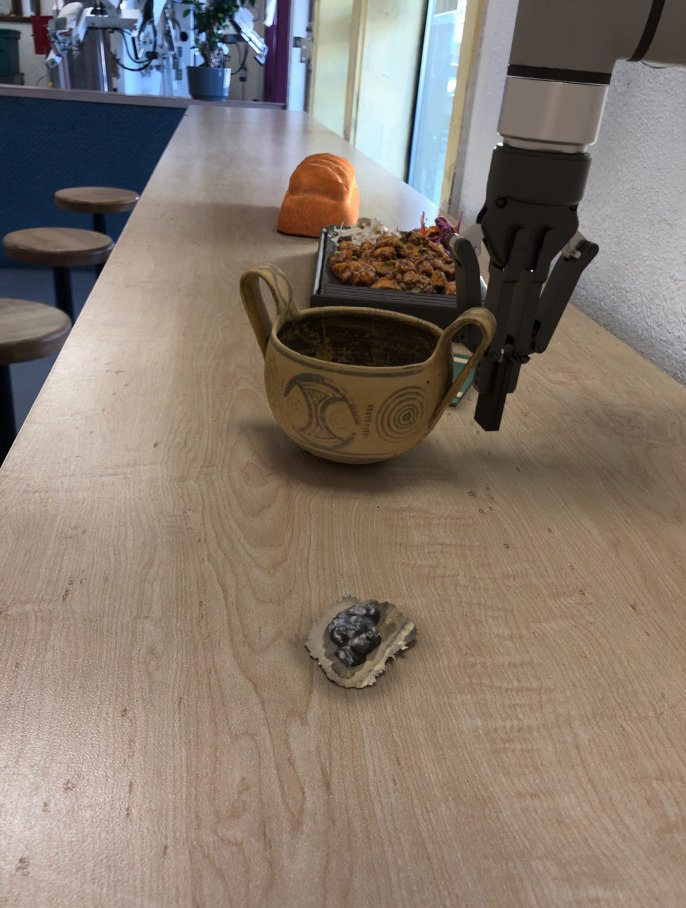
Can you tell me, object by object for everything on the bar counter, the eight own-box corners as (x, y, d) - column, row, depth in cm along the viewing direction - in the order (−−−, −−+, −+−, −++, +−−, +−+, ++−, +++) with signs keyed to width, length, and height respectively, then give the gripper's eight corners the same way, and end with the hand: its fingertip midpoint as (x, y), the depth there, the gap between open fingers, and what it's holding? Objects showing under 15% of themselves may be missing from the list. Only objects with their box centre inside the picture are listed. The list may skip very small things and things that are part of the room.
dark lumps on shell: (422, 617, 51) (426, 594, 50) (407, 702, 45) (412, 676, 44) (321, 597, 52) (324, 574, 52) (292, 677, 46) (294, 651, 45)
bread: (272, 234, 151) (276, 161, 145) (291, 207, 179) (295, 144, 172) (353, 242, 151) (360, 169, 144) (360, 213, 178) (366, 150, 171)
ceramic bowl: (197, 452, 69) (197, 282, 62) (282, 391, 83) (290, 246, 76) (439, 521, 62) (473, 338, 55) (489, 442, 76) (521, 287, 68)
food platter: (318, 252, 141) (323, 191, 136) (454, 264, 141) (464, 203, 136) (307, 329, 102) (314, 248, 97) (496, 345, 102) (512, 265, 97)
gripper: (592, 143, 65) (530, 406, 77) (447, 134, 62) (406, 410, 74) (645, 155, 59) (569, 440, 70) (487, 146, 56) (435, 445, 67)
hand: (486, 424), depth 72 cm, fingers closed
